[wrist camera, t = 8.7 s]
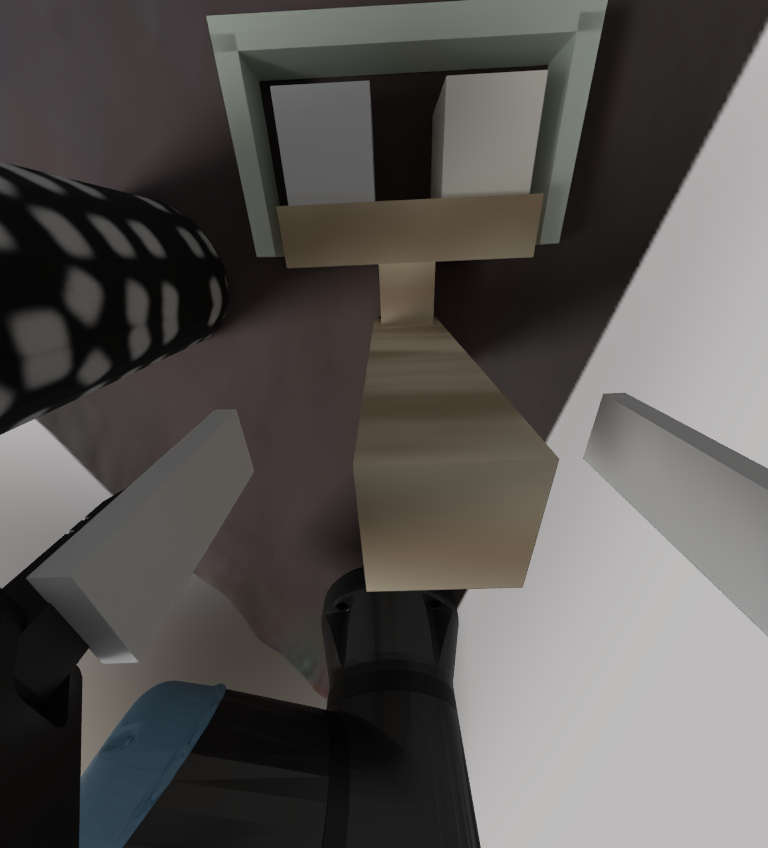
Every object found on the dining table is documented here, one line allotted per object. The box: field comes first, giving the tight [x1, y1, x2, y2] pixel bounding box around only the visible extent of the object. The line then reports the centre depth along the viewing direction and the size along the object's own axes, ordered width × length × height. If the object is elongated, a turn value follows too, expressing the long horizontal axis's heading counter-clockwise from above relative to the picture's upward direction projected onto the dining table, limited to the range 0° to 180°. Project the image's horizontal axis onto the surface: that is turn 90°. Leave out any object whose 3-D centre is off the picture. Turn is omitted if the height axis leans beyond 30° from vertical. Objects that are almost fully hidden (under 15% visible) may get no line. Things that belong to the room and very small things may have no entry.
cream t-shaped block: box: [276, 193, 559, 592], centre depth 13 cm, size 10×12×16 cm
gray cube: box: [270, 81, 376, 206], centre depth 15 cm, size 4×4×4 cm
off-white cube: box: [430, 70, 548, 199], centre depth 15 cm, size 4×4×4 cm
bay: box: [206, 0, 608, 257], centre depth 15 cm, size 8×16×2 cm, turn 92°
